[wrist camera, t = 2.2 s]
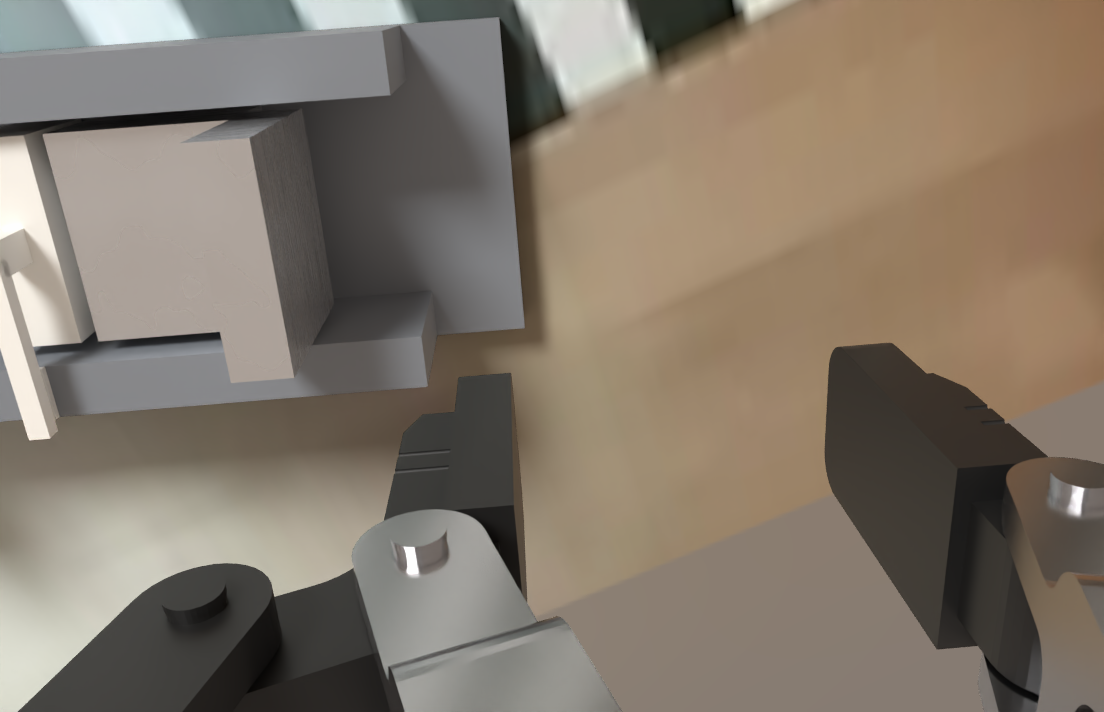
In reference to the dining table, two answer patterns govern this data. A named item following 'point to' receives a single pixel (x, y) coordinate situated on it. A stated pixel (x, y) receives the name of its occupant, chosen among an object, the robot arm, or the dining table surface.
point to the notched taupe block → (199, 230)
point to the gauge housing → (342, 192)
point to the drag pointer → (35, 270)
